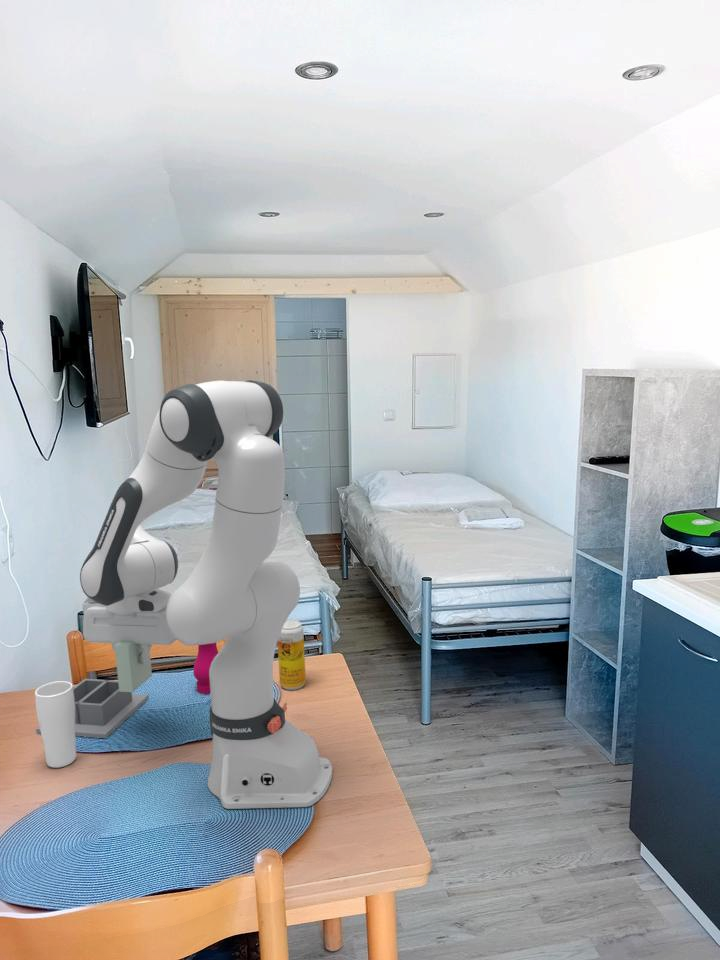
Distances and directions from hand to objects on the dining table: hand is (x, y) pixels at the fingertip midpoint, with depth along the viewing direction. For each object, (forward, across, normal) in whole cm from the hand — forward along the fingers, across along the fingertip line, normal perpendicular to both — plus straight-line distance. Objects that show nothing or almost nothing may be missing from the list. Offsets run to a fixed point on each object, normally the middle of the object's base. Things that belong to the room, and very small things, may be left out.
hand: (133, 662), depth 147 cm
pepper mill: (+14, +7, +19) cm, 25 cm away
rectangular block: (+5, 0, 0) cm, 5 cm away
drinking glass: (+14, -8, -15) cm, 22 cm away
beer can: (+15, +26, +23) cm, 38 cm away
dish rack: (+14, -13, +3) cm, 19 cm away
